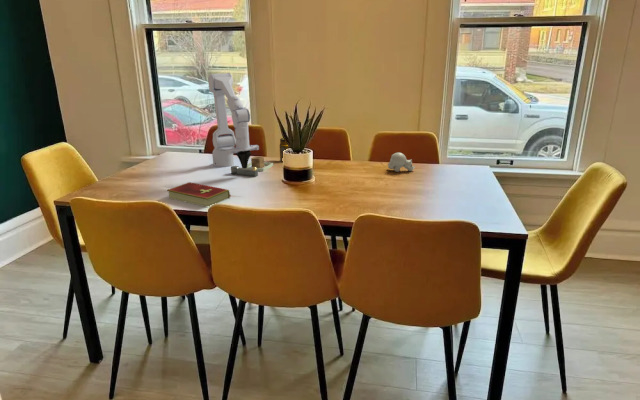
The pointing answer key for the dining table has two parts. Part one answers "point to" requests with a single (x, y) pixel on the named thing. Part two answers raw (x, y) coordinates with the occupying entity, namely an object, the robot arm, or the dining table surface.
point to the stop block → (257, 162)
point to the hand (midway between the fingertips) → (244, 167)
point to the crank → (244, 171)
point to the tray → (261, 168)
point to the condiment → (282, 147)
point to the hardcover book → (199, 194)
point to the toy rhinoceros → (400, 162)
